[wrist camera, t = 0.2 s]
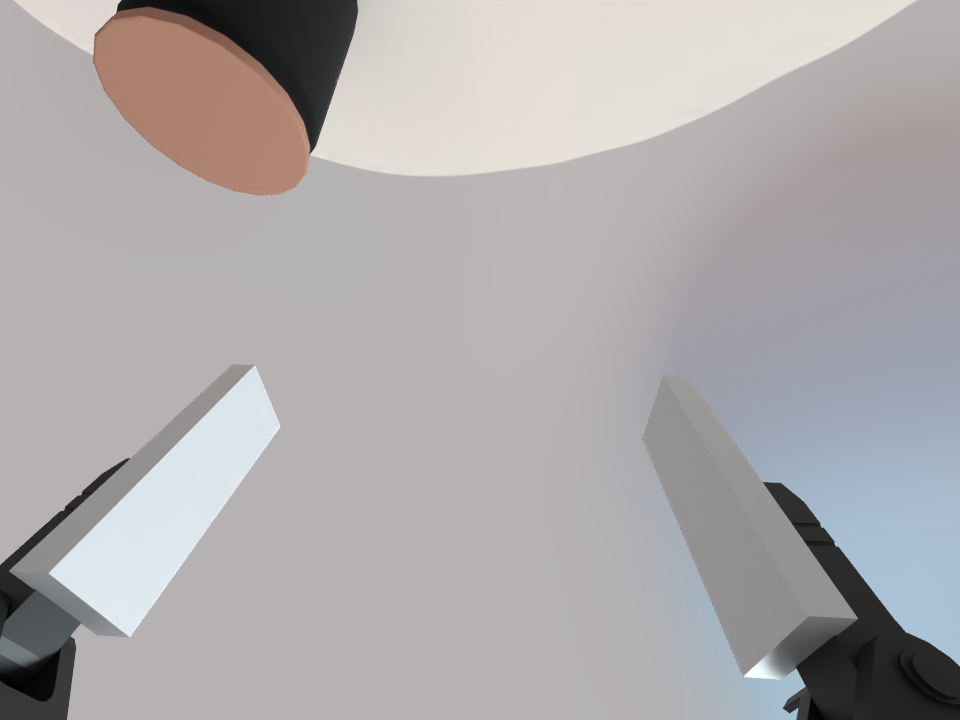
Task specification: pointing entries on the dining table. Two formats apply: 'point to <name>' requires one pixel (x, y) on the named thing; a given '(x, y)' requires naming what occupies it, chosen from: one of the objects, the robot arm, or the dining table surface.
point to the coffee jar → (227, 82)
